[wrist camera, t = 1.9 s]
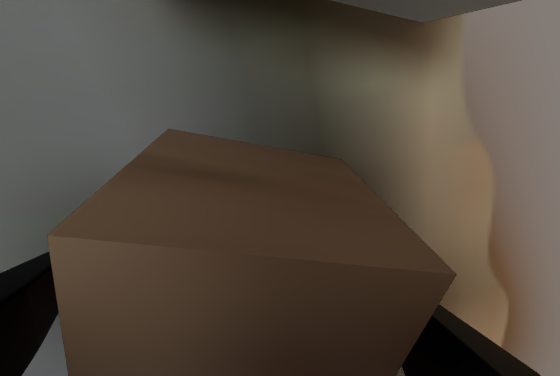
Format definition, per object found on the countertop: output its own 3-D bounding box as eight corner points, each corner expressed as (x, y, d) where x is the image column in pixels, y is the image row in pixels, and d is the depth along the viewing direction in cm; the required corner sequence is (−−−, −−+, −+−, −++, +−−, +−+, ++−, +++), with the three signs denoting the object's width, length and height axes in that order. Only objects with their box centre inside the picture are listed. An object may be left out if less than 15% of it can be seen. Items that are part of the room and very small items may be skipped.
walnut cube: (301, 282, 12) (346, 456, 7) (161, 271, 11) (82, 471, 6) (340, 158, 10) (456, 274, 4) (168, 128, 9) (46, 235, 3)
